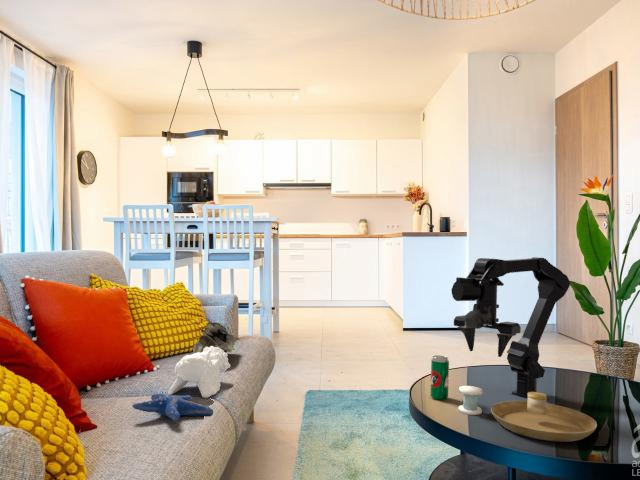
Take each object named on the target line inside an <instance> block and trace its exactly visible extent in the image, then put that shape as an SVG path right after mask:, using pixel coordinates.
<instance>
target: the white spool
mask: <svg viewBox="0 0 640 480" xmlns="http://www.w3.org/2000/svg"><path fill="white" fill-rule="evenodd" d="M458 392H459V393H461V394H463V403H462V404H461V405H458V412H460V413H461V414H464V415H469V416H480V415H481V414H482V413H483V412H482V411H483V409H482V408H481V407H480V406H478V397H479V396H481V395H483V389H482V388H481V387H477V386H473V385H462V386H459V388H458Z"/></svg>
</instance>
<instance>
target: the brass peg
mask: <svg viewBox="0 0 640 480" xmlns="http://www.w3.org/2000/svg"><path fill="white" fill-rule="evenodd" d="M526 401H527V411H528V412H530V413H532V414H537V415H544V414H546V403H547V394H546V393H542V392H538V391H537V392H528V397H527V399H526Z"/></svg>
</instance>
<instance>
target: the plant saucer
mask: <svg viewBox="0 0 640 480" xmlns="http://www.w3.org/2000/svg"><path fill="white" fill-rule="evenodd" d="M490 411H491V413H492V416H493V417H494V419H495V420H496V421H497V422H498V423H499V424H500V425H501V426H502V427H504V428H505V429H506V430H509V431H511V432H513V433H515V434H518V435H520V436H524V437H527V438H530V439H534V440H540V441H546V442H558V443H559V442H560V443H561V442H563V443H566V442H567V443H570V442H577V441H580V440H584V439H585V438H587V437H589V436H590V435H592V433H594V432H595V431H596V429H597V427H598V424H597V421H596V420H595V419H594V418H593V417H591V416H590V415H588V414H586V413H583V412H581V411H578V410H577V409H573V408H570V407H566V406H561V405H557V404H553V403H548V402H546V414H544V415H537V414H532V413H530V412H528V411H527V400H509V401H508V400H507V401H501V402H497V403H494V404H492V405H491V407H490Z"/></svg>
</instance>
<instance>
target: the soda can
mask: <svg viewBox="0 0 640 480" xmlns="http://www.w3.org/2000/svg"><path fill="white" fill-rule="evenodd" d="M449 360H450V359H449V357H448V356H445V355H440V354H439V355H433V356H432V358H431V360H430V363H431V364H430V365H431V366H430V393H429V394H430V395H429V396H430V397H431V398H432V400H435V401H446V400H447V399H448V398H449V381H450V378H449V377H450V361H449Z"/></svg>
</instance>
